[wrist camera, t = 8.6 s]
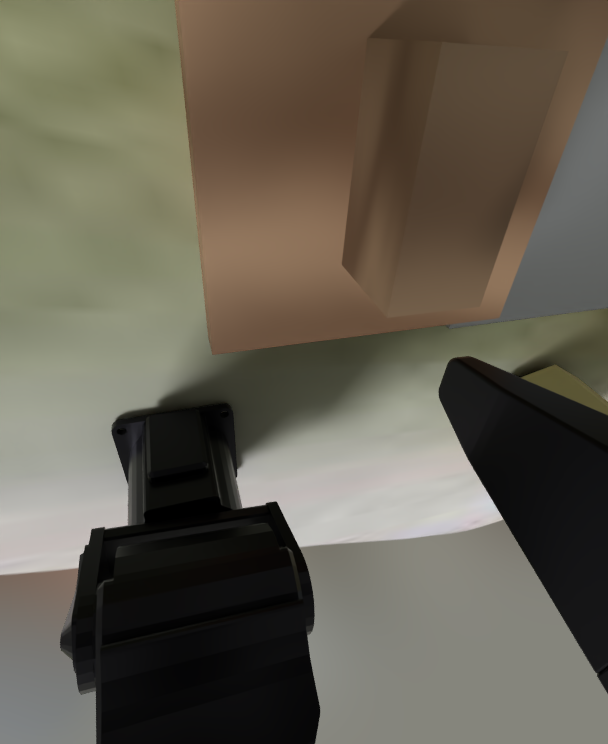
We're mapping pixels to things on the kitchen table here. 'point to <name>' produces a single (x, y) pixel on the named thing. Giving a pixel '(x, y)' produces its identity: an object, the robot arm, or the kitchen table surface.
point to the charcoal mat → (569, 223)
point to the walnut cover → (373, 156)
